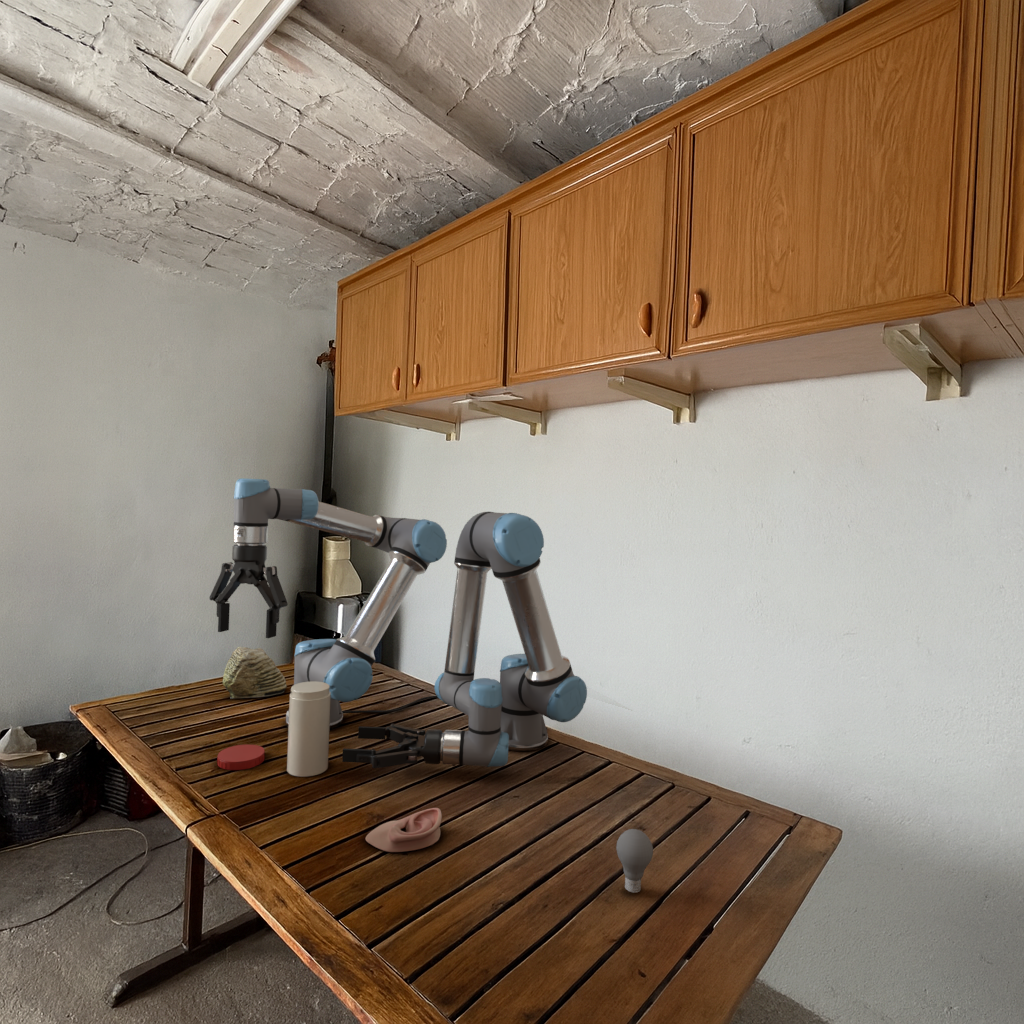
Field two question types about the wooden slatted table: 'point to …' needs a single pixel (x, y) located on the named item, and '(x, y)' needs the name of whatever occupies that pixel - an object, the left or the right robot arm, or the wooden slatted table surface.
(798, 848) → the wooden slatted table surface
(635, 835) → the light bulb
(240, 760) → the lid
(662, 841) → the wooden slatted table surface
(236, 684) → the fossil
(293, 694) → the jar
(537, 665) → the right robot arm
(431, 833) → the anatomical model
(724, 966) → the wooden slatted table surface
